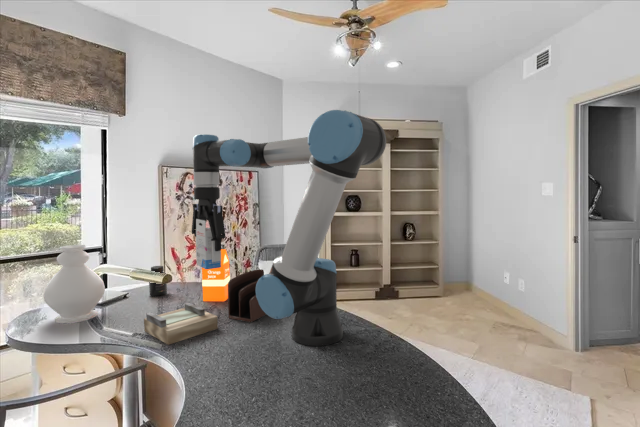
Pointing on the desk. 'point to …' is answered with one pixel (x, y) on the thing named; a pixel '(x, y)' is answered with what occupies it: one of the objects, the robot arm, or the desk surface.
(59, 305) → the decorative vase
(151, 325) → the box
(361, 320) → the desk surface
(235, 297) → the letter holder
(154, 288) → the supplement bottle
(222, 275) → the orange juice
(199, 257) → the ink box
